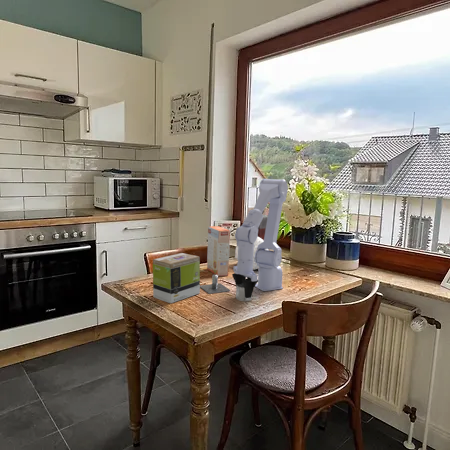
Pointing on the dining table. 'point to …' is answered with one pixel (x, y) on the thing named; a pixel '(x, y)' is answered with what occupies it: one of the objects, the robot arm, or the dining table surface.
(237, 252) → the cauliflower
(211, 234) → the cracker box
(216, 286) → the duct stub
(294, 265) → the dining table surface
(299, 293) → the dining table surface
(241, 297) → the collar
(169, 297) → the tea box
